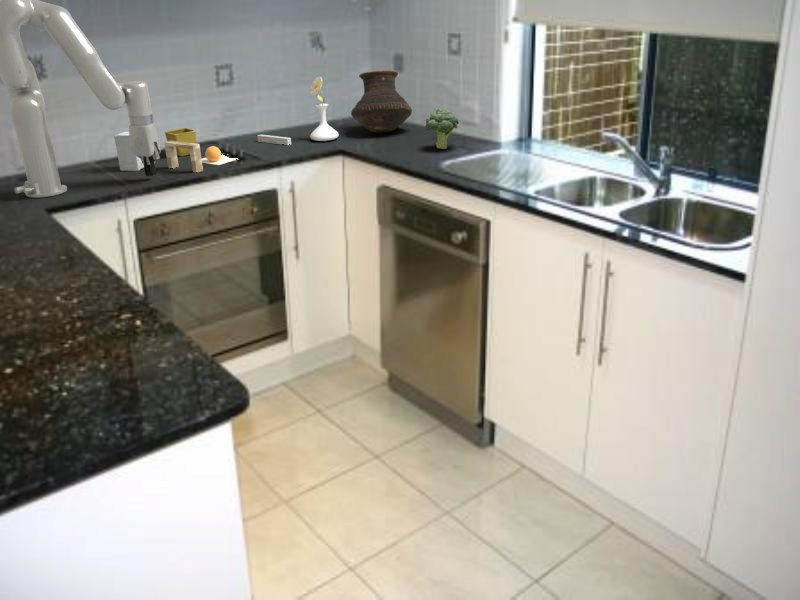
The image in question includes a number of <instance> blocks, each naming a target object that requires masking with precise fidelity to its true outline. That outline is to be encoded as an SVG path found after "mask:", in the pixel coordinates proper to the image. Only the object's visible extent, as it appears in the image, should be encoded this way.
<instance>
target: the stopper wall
mask: <svg viewBox="0 0 800 600" xmlns="http://www.w3.org/2000/svg"><path fill="white" fill-rule="evenodd" d="M256 135H257V136H256V137H257V142H258V143H265V144H275V145H282V144H284V146H290V145H292V138H291V137H288V136H287V137H286V136H280V135H279V136H277V135H268V134H267V135H266V134H256ZM289 144H290V145H289Z"/></svg>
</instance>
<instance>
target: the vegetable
mask: <svg viewBox="0 0 800 600" xmlns="http://www.w3.org/2000/svg"><path fill="white" fill-rule="evenodd" d="M459 123H460V122H459V119H458V117H457V116H456V115H455V114H453V112H452V111H451V110H449V109H448V110H447V109H446V108H442V107H437V108H435V109H434V110H431V112H430V114H429V116H427V117H426V118H425V128H426V131H428V132H429V133H430V134H431V133H433V132H434V131H435V132H436V138H437V141H436V142H435V144H436V148H437V149H441V150H445V149H446V150H447V149H448V142H447V141H448V137H449V136H450V135H451V133H452V132H453V130H456V129H458V125H459Z"/></svg>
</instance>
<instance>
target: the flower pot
mask: <svg viewBox="0 0 800 600" xmlns="http://www.w3.org/2000/svg"><path fill="white" fill-rule="evenodd" d="M196 132H197V130H195V129H191V128H188V127H183V128H178V129H171V130H167V131H164V135H165V138H166V142H167V141H179V142H187V143H195V144H197V133H196ZM176 153H177V157H185V156H188V155H189V156H190V150H189V149H187V148H179V147H176Z"/></svg>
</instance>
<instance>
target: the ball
mask: <svg viewBox="0 0 800 600" xmlns="http://www.w3.org/2000/svg"><path fill="white" fill-rule="evenodd" d="M221 154H222V152H221V150H220V148H219V147H218V146H214V145H212V146H208V147H207V148H206V150H205V152H204V155H205V158H207V159H208V160H209V161H211V162H216V161H218V160H219V159H220V157H221Z"/></svg>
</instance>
